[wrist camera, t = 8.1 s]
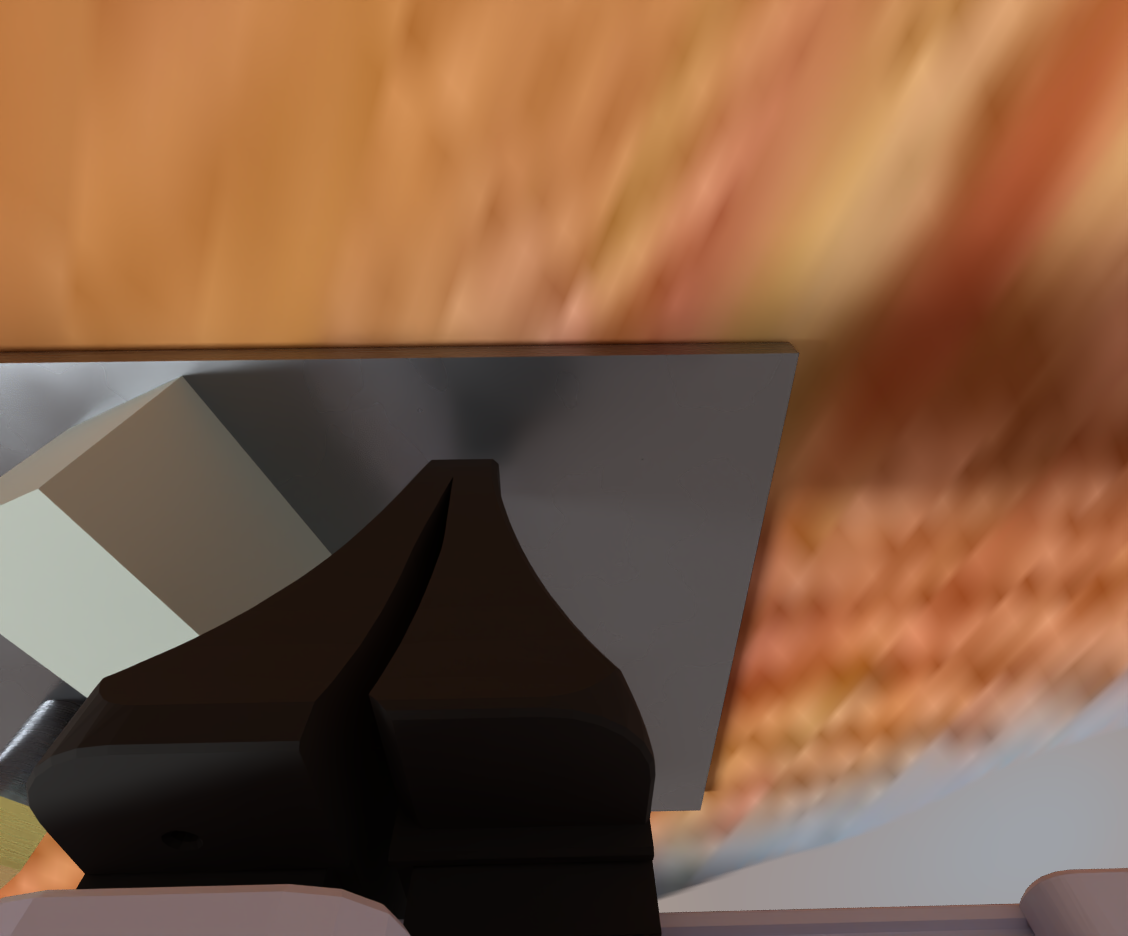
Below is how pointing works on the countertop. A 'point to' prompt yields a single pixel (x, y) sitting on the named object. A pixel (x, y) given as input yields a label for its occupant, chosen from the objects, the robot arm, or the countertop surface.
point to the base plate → (527, 478)
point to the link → (140, 537)
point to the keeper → (3, 817)
